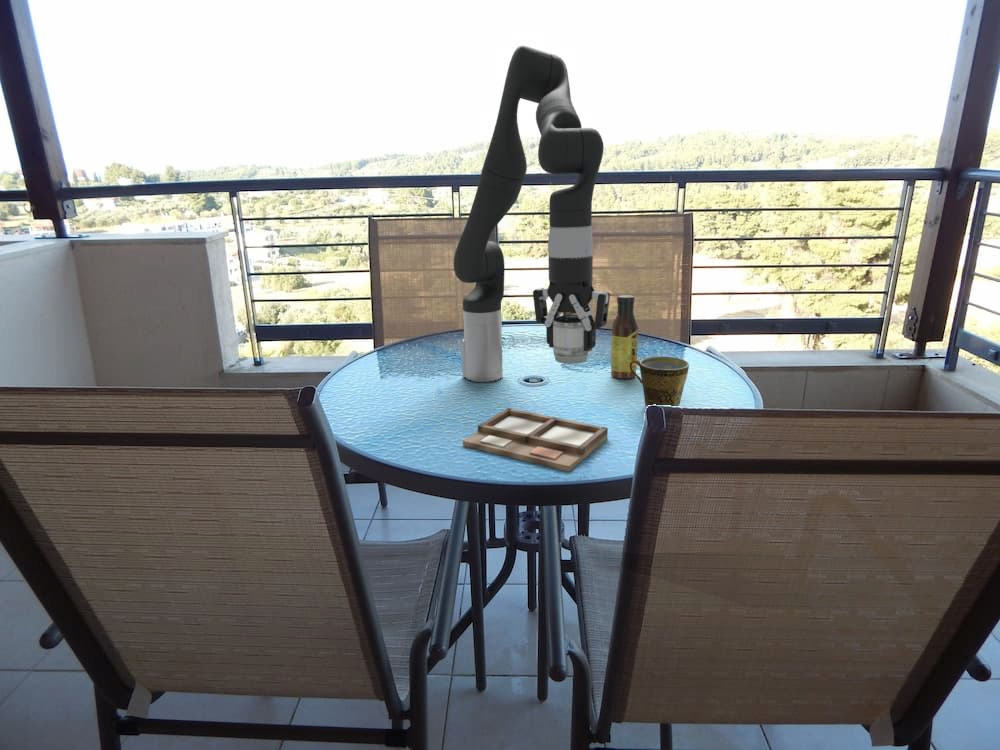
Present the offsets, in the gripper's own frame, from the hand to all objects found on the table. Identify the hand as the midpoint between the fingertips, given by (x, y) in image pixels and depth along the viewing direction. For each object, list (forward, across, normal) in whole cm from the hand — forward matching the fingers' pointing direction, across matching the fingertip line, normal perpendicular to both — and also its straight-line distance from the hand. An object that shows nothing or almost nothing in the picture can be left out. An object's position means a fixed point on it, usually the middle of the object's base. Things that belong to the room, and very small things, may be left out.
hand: (570, 348), depth 111 cm
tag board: (+18, +6, +3) cm, 19 cm away
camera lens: (+2, 0, 0) cm, 2 cm away
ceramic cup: (+18, -8, -26) cm, 32 cm away
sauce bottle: (+18, +6, -43) cm, 47 cm away
